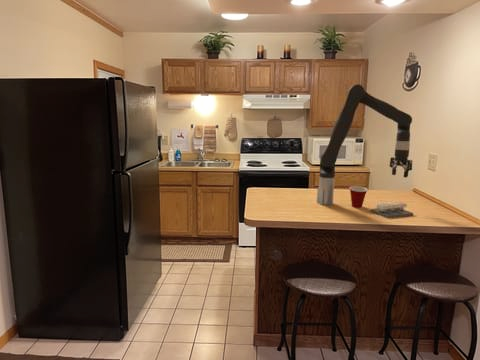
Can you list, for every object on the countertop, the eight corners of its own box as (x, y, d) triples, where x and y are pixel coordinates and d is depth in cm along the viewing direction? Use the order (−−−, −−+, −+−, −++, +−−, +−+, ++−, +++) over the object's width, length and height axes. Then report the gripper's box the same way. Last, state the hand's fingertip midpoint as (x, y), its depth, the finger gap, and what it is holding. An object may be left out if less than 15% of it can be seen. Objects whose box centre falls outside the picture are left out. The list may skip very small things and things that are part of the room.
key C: (400, 210, 194) (400, 203, 193) (394, 208, 198) (394, 201, 198) (406, 209, 196) (407, 203, 195) (400, 207, 200) (400, 201, 199)
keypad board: (387, 218, 186) (388, 211, 185) (369, 211, 199) (370, 204, 198) (412, 215, 192) (413, 208, 191) (394, 208, 205) (394, 202, 204)
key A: (382, 212, 190) (382, 205, 189) (376, 210, 194) (376, 203, 193) (388, 211, 191) (389, 204, 191) (382, 209, 196) (383, 202, 195)
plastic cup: (350, 209, 204) (351, 189, 201) (345, 204, 214) (347, 185, 212) (368, 209, 203) (370, 190, 201) (363, 204, 214) (364, 186, 211)
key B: (391, 211, 192) (391, 204, 191) (385, 209, 196) (385, 202, 195) (397, 210, 193) (398, 203, 193) (391, 208, 198) (392, 201, 197)
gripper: (387, 147, 202) (385, 174, 205) (407, 150, 189) (404, 178, 192) (397, 147, 205) (395, 173, 208) (417, 149, 192) (414, 177, 195)
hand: (399, 176), depth 200 cm, fingers open, 8 cm apart
